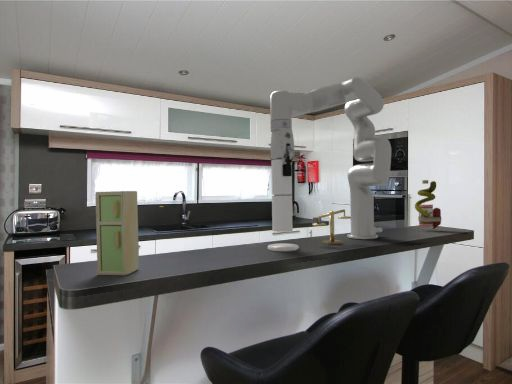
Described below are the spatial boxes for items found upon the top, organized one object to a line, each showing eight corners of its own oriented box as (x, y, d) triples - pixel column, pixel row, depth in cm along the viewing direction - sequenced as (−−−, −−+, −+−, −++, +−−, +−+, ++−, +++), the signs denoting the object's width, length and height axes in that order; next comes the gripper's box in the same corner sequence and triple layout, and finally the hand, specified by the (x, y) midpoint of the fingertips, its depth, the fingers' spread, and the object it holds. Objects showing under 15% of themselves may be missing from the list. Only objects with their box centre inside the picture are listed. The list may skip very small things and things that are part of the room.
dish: (289, 245, 121) (289, 242, 121) (304, 249, 111) (304, 246, 111) (262, 247, 117) (262, 244, 117) (276, 252, 107) (276, 249, 107)
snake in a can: (416, 231, 156) (415, 180, 156) (414, 229, 165) (413, 180, 165) (443, 232, 151) (442, 179, 151) (440, 229, 161) (439, 180, 161)
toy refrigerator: (94, 275, 79) (93, 191, 79) (112, 268, 87) (111, 191, 87) (123, 276, 78) (122, 190, 78) (139, 269, 85) (138, 191, 85)
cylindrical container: (269, 231, 112) (268, 160, 112) (277, 229, 119) (276, 161, 119) (288, 232, 109) (286, 158, 109) (295, 229, 115) (294, 160, 115)
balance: (345, 241, 129) (345, 208, 129) (354, 242, 124) (353, 209, 125) (310, 244, 122) (309, 210, 122) (317, 246, 118) (316, 210, 118)
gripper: (303, 122, 107) (303, 175, 107) (279, 132, 123) (279, 178, 123) (283, 120, 104) (284, 175, 104) (261, 130, 120) (262, 177, 120)
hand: (281, 176), depth 114 cm, fingers closed on cylindrical container, 7 cm apart
